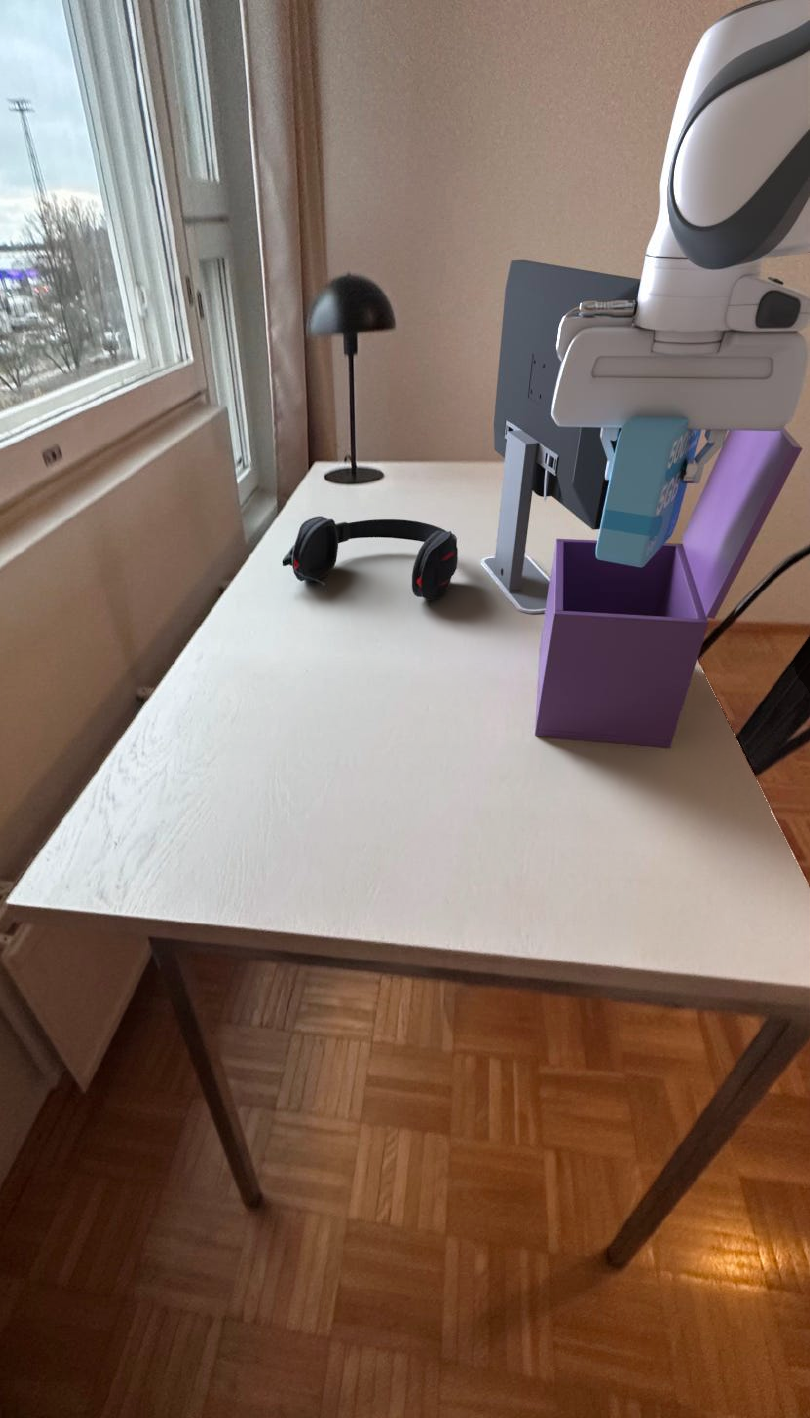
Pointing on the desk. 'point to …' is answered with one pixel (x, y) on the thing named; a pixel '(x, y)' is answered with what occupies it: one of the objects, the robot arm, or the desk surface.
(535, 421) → the computer monitor
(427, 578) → the headset
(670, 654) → the file box
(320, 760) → the desk surface
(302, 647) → the desk surface
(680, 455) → the light blue rounded block
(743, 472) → the lid
